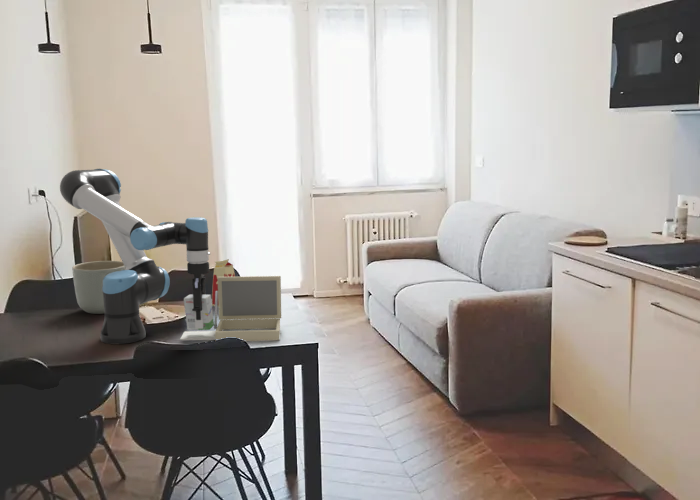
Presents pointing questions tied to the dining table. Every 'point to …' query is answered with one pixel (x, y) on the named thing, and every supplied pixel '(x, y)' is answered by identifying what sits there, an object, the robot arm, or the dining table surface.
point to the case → (248, 307)
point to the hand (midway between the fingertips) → (200, 325)
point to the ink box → (207, 312)
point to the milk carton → (221, 275)
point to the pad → (198, 335)
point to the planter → (93, 283)
